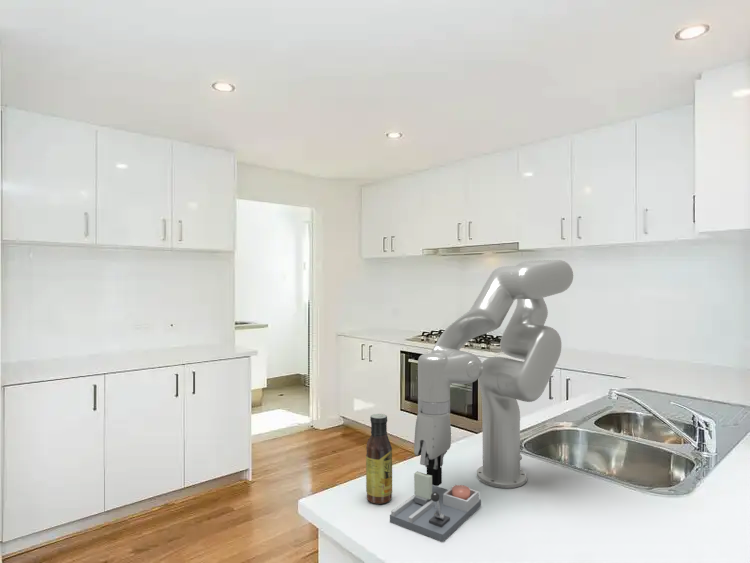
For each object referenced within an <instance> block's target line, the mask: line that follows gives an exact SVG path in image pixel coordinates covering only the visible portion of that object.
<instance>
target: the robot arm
mask: <svg viewBox="0 0 750 563" xmlns="http://www.w3.org/2000/svg"><path fill="white" fill-rule="evenodd" d="M573 280H574V271H573V269H572V267H571V265H570V264H569V263H568V262H566V261H564V260H562V259H550V260H549V259H548V260H545V259H544V260H543V259H542V260H540V259H539V260H526V261H521V262H519V263H517V264H516V265H506V266H499V267H497V268H495V269H494V270H492V272H491V274H490V275H489V277H488V278H487V280H486V282H485V283H484V285H483V286H482V289H481V291H480V292H479V294H478V296H477V297H476V299H475V300H474V302H473V305H472V306H471V307H470V309H469V310H468V311H467V312H466V313H464V314H463V315H460V317H459V318H457V319H456V320H454V322H452V323H451V324H449V326H447V328H445V330H444V331H443V332H442V333H441V334H440V336H439V338H438V339H437V341H436V343H435V344H434V346H433V348H432V350H431V352H428V353H424V354H421V355H420V356H419V357H418V359H417V415H416V419H415V420H416V421H415V428H414V443H413V446H414V447H413V451H414V456H415V457H419V456H420V458H419V459H420V460H419V464H420V465H422V466H425V468H426V474H428V475H431V476H432V485H434V486H437V487H440V485H442V482H443V480H442V479H443V478H442V476H443V474H442V473H443V472H442V471H443V464H444V457H445V455H446V453H448V450H450V448H451V446H452V445H451V444H452V430H451V429H452V428H451V415H450V414H451V385H452V384H459V385H461V384H463V385H465V384H466V385H467V384H472V383H474V382H476V381H478V385H479V388H480V389H479V390H480V394H481V395H480V396H481V404H482V421H481V422H482V423H481V424H482V465H481V466H479V467H478V468H477V470H476V478H478V480H479V481H480V482H482V483H483V484H486V485H488V486H491V487H495V488H500V489H501V488H502V489H503V488H504V489H513V488H518V487H521V486H524V485H525V484H526V482H527V474H526V472H524V471H523V470H522V469H521V461H522V459H523V456H522V455H521V411H520V406H519V403H518V401H521V402H524V403H532V402H535V401H537V400H539V399H540V398H541V396H542V395H543V393H544V391H545V389H546V387H547V385H548V383H549V382H550V379H551V377H552V375H553V373H554V370H555V368H556V367H557V364H558V361H559V358H560V356H561V353H562V338H561V336H560V333H559V332H558V331H557V330H556V328H555V329H554V327H550V326H548V325H545V324H546V322H547V319H548V314H549V311H548V307H547V304H546V303H547V302H546V301H545V299H544V298H546V297H550V296H555V295H558V294H561V293H563V292H565V291H568V289H569V288H570V287H571V285H572V283H573ZM515 300H517V301H516V306H515V309H514V312H512V316H511V317H510V319H509V322H508V324H507V325H506V327H505V329H504V331H503V333H502V336H501V338H500V343H499V345H500V350H501V351H502V352H503V353H504V355H507V356H508V357H511V358H507V357H504V356H503V357H502V356H491V357H488V358H485V359H484V360H483V361H482V360H481V359H480V358H479V357H478V356H477V355H476V354H474V353H472V352H469V351H464V350H461V349H462V348H463V346H464V345H466V344H467V343H468V342H469V341H471V340H473V339H475V338H477V337H479V336H482V335H485V334H489V333H491V332H494V331H496V330H498V329H499V328H500V327H501V326H502V324H503V322H504V320H505V319H506V316H507V314H508V313H509V310H510V309H511V307H512V305H513V304H514V302H515ZM516 359H519V360H516ZM521 360H523V361H521Z"/></svg>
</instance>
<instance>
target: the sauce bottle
mask: <svg viewBox="0 0 750 563" xmlns="http://www.w3.org/2000/svg"><path fill="white" fill-rule="evenodd" d="M369 420H370V424H371V425H370V426H371V428H370V430H371V431H370V435H369V436H370V437H369V438H368V440H367V442H366V455H365V464H366V465H365V471H366V472H365V477H366V479H365V481H366V482H365V484H366V485H365V487H366V490H365V491H366V499H367V500H368V502H370V503H372V504H378V505H382V504H385V503H386V504H387V503H388V502H390V501H391V500H392V497H393V496H392V495H393V494H392V493H393V448H392V445H391V442H390V439H389V437H388V431H387V428H388V426H387V422H388V416H387V415H386V414H384V413H374V414H371V415H370V419H369Z"/></svg>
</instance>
